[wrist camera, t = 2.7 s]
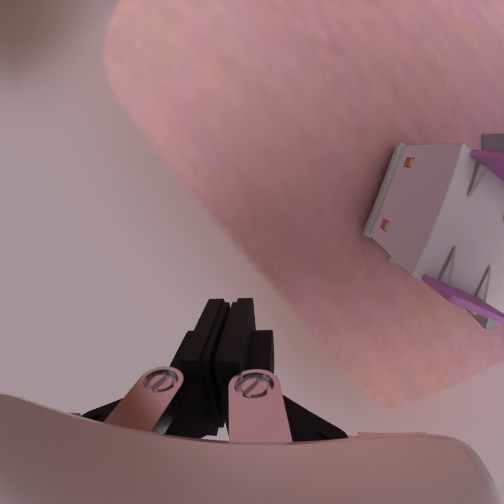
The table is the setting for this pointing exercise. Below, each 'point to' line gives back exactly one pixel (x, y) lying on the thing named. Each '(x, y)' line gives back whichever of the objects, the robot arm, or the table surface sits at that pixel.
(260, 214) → the table surface
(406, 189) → the toy vehicle
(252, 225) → the table surface
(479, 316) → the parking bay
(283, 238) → the table surface
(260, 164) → the table surface
